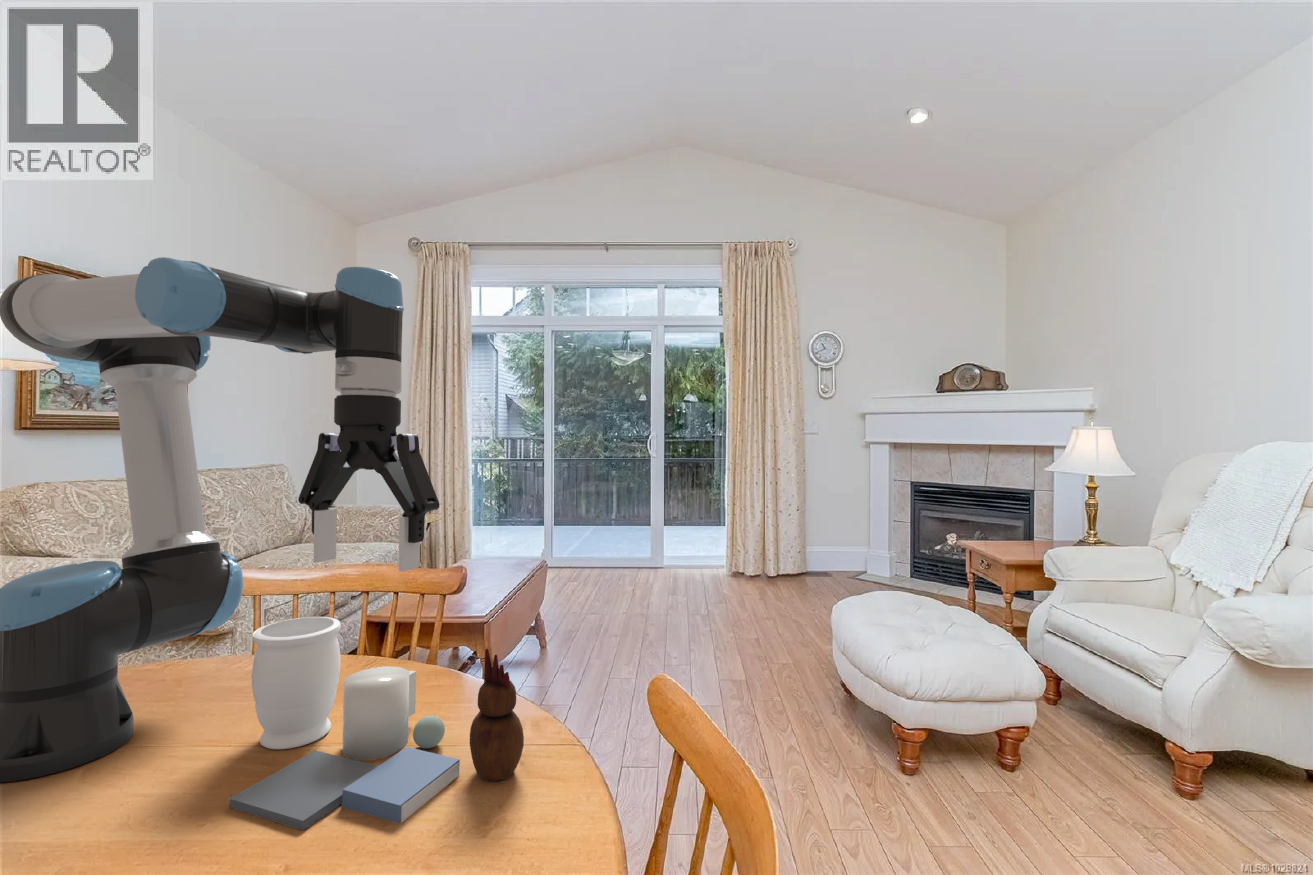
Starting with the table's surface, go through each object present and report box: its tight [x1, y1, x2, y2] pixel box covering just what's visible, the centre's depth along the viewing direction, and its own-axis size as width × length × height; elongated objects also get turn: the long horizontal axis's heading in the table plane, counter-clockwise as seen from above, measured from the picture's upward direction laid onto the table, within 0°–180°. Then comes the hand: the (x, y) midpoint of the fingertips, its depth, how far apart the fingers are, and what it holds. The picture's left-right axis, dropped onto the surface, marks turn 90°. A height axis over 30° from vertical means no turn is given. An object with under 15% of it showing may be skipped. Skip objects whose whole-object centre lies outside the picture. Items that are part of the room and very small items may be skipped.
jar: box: [251, 616, 342, 750], centre depth 82 cm, size 11×10×15 cm
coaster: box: [228, 749, 379, 831], centre depth 70 cm, size 11×11×1 cm
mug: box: [342, 665, 417, 762], centre depth 82 cm, size 8×11×9 cm
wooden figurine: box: [469, 648, 525, 782], centre depth 74 cm, size 7×6×15 cm
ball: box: [412, 715, 446, 750], centre depth 80 cm, size 4×4×4 cm
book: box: [341, 746, 461, 824], centre depth 70 cm, size 8×10×2 cm
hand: (365, 565), depth 74 cm, fingers open, 13 cm apart
